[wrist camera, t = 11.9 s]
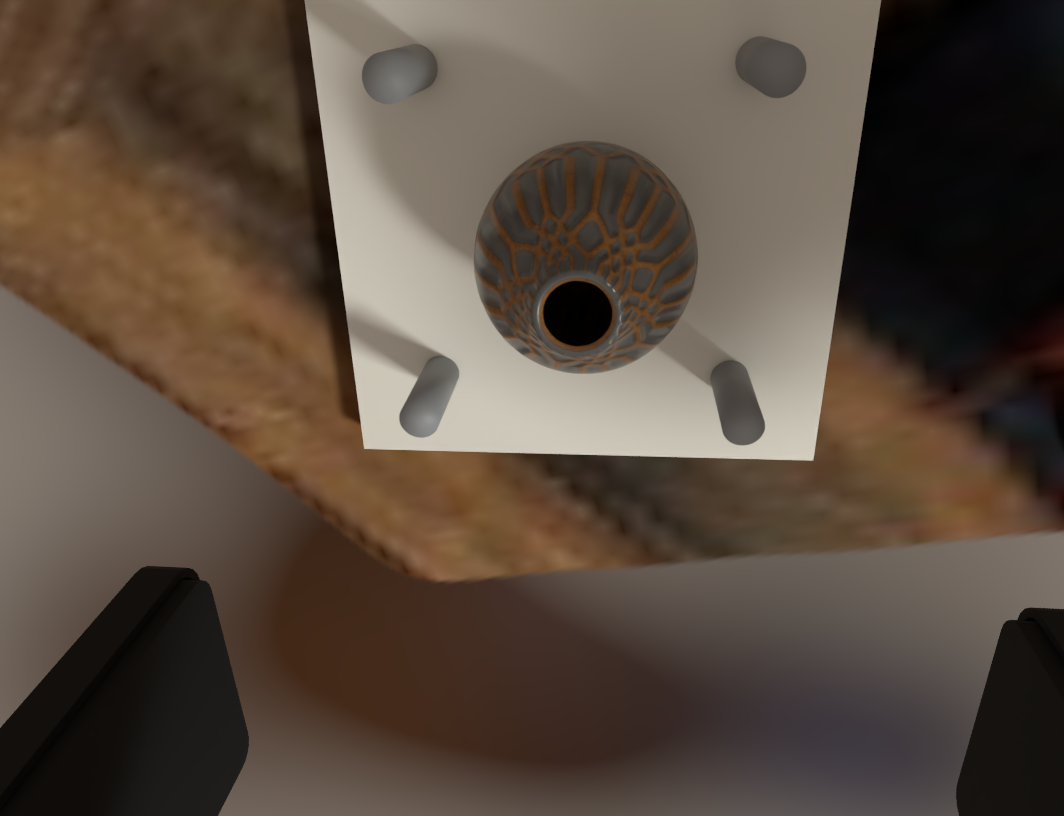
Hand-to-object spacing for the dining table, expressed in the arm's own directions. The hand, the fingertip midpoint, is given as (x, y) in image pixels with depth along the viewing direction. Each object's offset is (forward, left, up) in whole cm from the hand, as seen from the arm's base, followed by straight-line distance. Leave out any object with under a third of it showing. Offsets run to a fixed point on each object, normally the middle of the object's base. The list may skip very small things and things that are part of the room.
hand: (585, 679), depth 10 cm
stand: (+1, 0, -23) cm, 23 cm away
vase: (+1, 0, -22) cm, 22 cm away
